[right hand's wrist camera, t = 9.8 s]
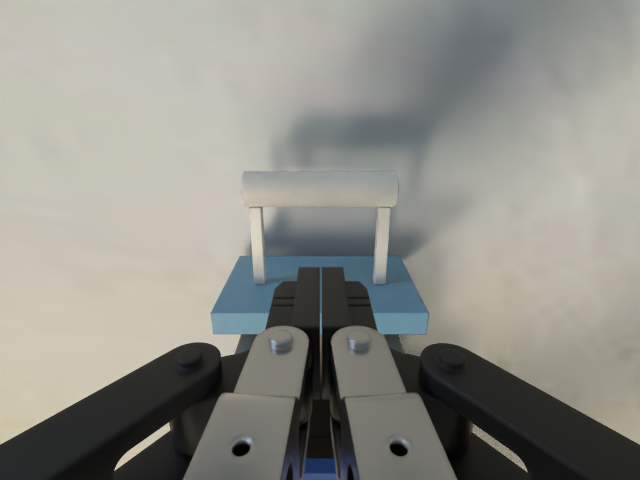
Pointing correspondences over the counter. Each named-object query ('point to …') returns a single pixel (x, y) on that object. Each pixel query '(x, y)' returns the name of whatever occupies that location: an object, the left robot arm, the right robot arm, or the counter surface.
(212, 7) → the counter surface
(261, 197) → the drawer
